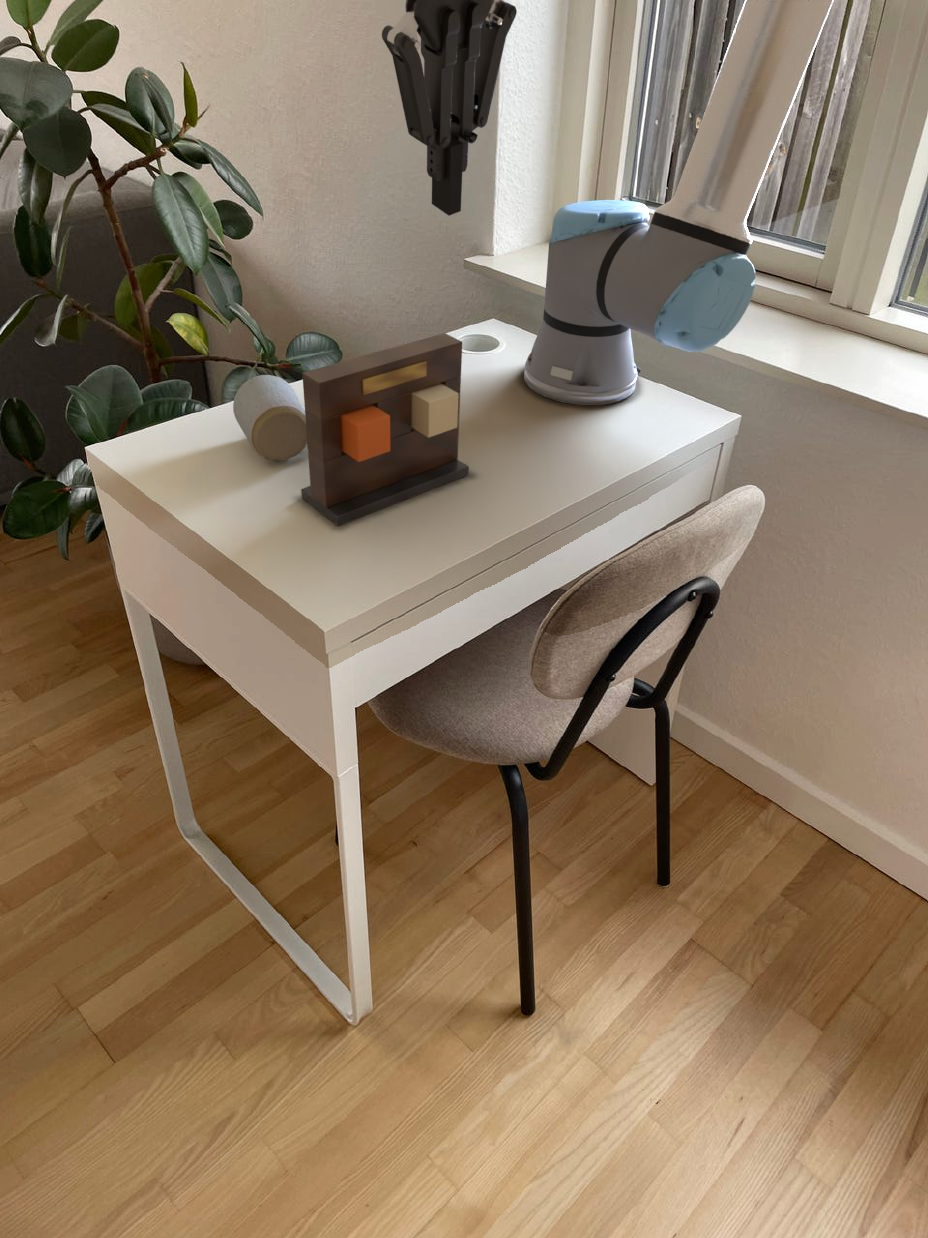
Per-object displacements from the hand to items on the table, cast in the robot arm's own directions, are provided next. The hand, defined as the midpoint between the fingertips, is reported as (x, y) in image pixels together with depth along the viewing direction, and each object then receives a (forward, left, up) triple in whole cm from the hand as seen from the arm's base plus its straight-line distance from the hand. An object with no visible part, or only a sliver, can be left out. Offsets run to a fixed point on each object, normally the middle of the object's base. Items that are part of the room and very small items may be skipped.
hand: (446, 207), depth 91 cm
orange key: (+12, +2, -21) cm, 25 cm away
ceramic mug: (+12, -14, -29) cm, 34 cm away
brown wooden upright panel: (+8, 0, -28) cm, 29 cm away
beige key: (+3, +2, -21) cm, 22 cm away
